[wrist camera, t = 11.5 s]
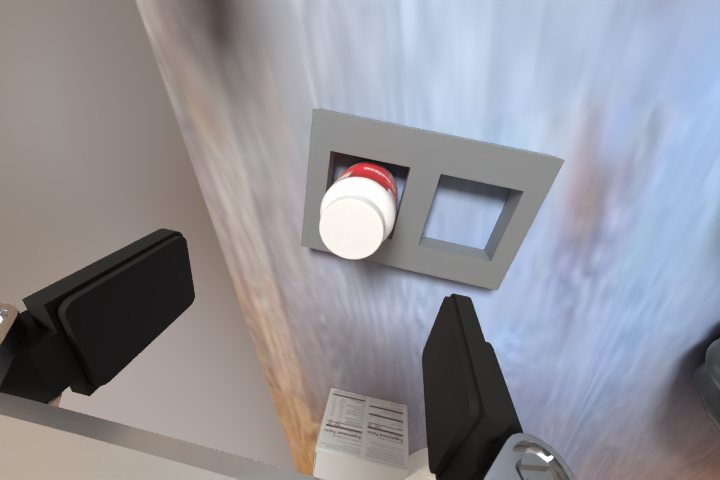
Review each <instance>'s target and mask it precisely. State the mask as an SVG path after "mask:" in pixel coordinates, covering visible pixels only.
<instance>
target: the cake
mask: <svg viewBox="0 0 720 480" xmlns="http://www.w3.org/2000/svg"><path fill="white" fill-rule="evenodd" d="M405 480H436V476H435V474H432V473H430V470H429V462H428V447H427V448H423V449H420V450H418V451H416V452H414V453H413V454H411V455H409V472H408V474H407V476H406V479H405Z"/></svg>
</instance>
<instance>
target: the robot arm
mask: <svg viewBox="0 0 720 480" xmlns="http://www.w3.org/2000/svg"><path fill="white" fill-rule="evenodd" d="M194 298H195V293H194V286H193V280H192V273H191V267H190V261H189V254H188V248H187V241H186V239H185V238H184V237H183V235H182V234H181V233H180V232H177V231H173V230H168V229H159V230H157V231H155V232H153V233H151V234H149V235H147V236H145V237H143V238H141V239H139V240H137V241H135V242H133V243H132V244H130V245H128V246H126V247H124V248H122V249H120V250H118V251H116V252H114V253H112V254H110V255H108V256H106V257H104V258H102V259H100V260H98V261H97V262H94V263H92V264H91V265H89V266H87V267H85V268H83V269H81V270H79V271H77V272H75V273H73V274H71V275H69V276H67V277H65V278H63V279H61V280H59V281H57V282H55V283H53V284H51V285H49V286H48V287H46V288H44V289H42V290H40V291H38V292H36V293H34V294H32V295H30V296H28V297H26V298H24V299H23V302H24V304H25V306H26V307H27V309H28V310H26V311H24V312H22V313H19V311H18V309H17V308H16V307H15V306H13V305H10V304H2V303H0V480H324V479H320V478H317V477H313V476H309V475H306V474H302V473H299V472H295V471H291V470H288V469H284V468H281V467H277V466H273V465H270V464H266V463H263V462H259V461H255V460H252V459H248V458H244V457H241V456H237V455H234V454H230V453H226V452H223V451H219V450H215V449H212V448H208V447H204V446H201V445H197V444H193V443H189V442H186V441H182V440H179V439H175V438H171V437H168V436H164V435H160V434H156V433H153V432H149V431H145V430H142V429H138V428H134V427H130V426H127V425H123V424H120V423H116V422H112V421H108V420H104V419H100V418H97V417H93V416H89V415H86V414H82V413H78V412H74V411H71V410H67V409H63V408H59V407H58V406H59V403H60V399H61V396H62V392H63V391H64V390H65V389H66V388H68V387H69V386H70V388H71V390H72V392H76V393H80V394H83V395H87V396H90V395H91V394H92V393H94V392H95V390H96V389H98V388H99V387H100V386H102V385H105V384H106V383H108V382H110V381H111V380H112V379H113V378H114V377H115V376H116V375H117V374H118V373H119V372H120V371H121V370H122V369H123V368H125V367H126V366H127V365H128V364H129V363H130V362H131V361H132V360H133V359H134V358H135V357H136V356H137V355H138V354H139V353H141V352H142V351H143V350H144V349H145V348H146V347H147V346H148V345H149V344H150V343H151V342H152V341H153V340H154V339H155V338H156V337H158V336H159V335H160V334H161V333H162V332H163V331H164V330H165V329H166V328H167V327H168V326H169V325H170V324H171V323H172V322H174V321H175V320H176V319H177V318H178V317H179V316H180V315H181V314H182V313H183V312H184V311H185V310H186V309H187V308H188V307H189V306H190V305H191V304H192V303H193V301H194ZM422 368H423V384H424V399H425V415H426V431H427V447H428V462H429V470H430V473H432V474H435V476H436V480H576V479H575V477H574V475H573V473H572V471H571V469H570V468H569V467H568V465H567V464H566V463H565V461H564V460H563V459H562V457H561V456H560V455H559V454H558V453H557V452H556V451H555V450H554V449H553V448H552V447H550V446H549V445H548V444H546V443H545V442H543V441H542V440H541V439H539V438H536V437H534V436H532V435H530V434H524V433H523V431H522V428H521V425H520V422H519V419H518V417H517V414H516V411H515V408H514V405H513V403H512V400H511V397H510V394H509V391H508V389H507V386H506V383H505V380H504V377H503V375H502V372H501V369H500V366H499V363H498V361H497V358H496V355H495V352H494V349H493V347H492V345H491V344H490V343H489V342H485V339H484V336H483V333H482V330H481V327H480V324H479V321H478V318H477V315H476V312H475V309H474V306H473V303H472V300H471V298H470V297H467V296H462V295H458V294H452V295H451V296H450V297H447V296H446V297H445V298H444V300H443V302H442V305H441V307H440V310H439V312H438V315H437V317H436V320H435V322H434V325H433V327H432V330H431V332H430V335H429V337H428V340H427V342H426V345H425V347H424V350H423V355H422Z"/></svg>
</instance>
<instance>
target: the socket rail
mask: <svg viewBox="0 0 720 480" xmlns="http://www.w3.org/2000/svg"><path fill="white" fill-rule="evenodd" d="M336 152H339V153H344V154H349V155H353V156H358V157H363V158H368V159H372V160H377V161H382V162H387V163H391V164H396V165H401V166H406V167H409V168H408V172H407V176H406V180H405V184H404V188H403V192H402V196H401V199H400V203H399V207H398V211H397V215H396V219H395V223H394V227H393V230H392V231H391V233H390V234H389V236H388V237H387V238H386V239H385V240H384V241H383V242H382V243H381V244H380V246H379V248H378V249H377V250H376V251H375V252H374V253H373V254H371V255H369V256H367V257H365V258H362V259H361V260H366V261H370V262H375V263H379V264H383V265H388V266H392V267H397V268H401V269H405V270H410V271H414V272H419V273H423V274H427V275H432V276H436V277H441V278H445V279H449V280H454V281H458V282H463V283H467V284H471V285H476V286H480V287H485V288H489V289H493V290H498V289H499V287H500V285H501V283H502V281H503V279H504V277H505V275H506V273H507V271H508V269H509V267H510V265H511V263H512V261H513V260H514V258H515V256H516V254H517V252H518V250H519V248H520V246H521V244H522V242H523V240H524V238H525V236H526V234H527V232H528V230H529V229H530V227H531V225H532V223H533V221H534V219H535V217H536V215H537V213H538V211H539V209H540V207H541V205H542V203H543V201H544V199H545V198H546V196H547V194H548V192H549V190H550V188H551V186H552V184H553V182H554V180H555V178H556V176H557V174H558V172H559V170H560V168H561V167H562V165H563V163H564V161H565V160H563V159H560V158H557V157H554V156H551V155H547V154H542V153H537V152H532V151H527V150H522V149H517V148H512V147H507V146H502V145H497V144H492V143H487V142H482V141H477V140H473V139H468V138H463V137H458V136H453V135H448V134H443V133H438V132H433V131H428V130H423V129H418V128H413V127H408V126H403V125H398V124H393V123H389V122H384V121H379V120H374V119H369V118H364V117H359V116H354V115H349V114H344V113H339V112H334V111H329V110H324V109H313V115H312V126H311V138H310V150H309V161H308V173H307V185H306V196H305V208H304V219H303V231H302V243H301V246H304V247H309V248H313V249H317V250H322V251H326V252H331V253H333V252H332V251H330V250H329V249H328V248H327V247H326V245H325V244H324V242H323V241H322V238H321V235H320V230H319V224H320V219H321V217H320V208H321V203H322V200H323V197H324V195H325V194H326V192H327V191H328V190H329V188H330V187H331V184H332V177H333V169H334V161H335V154H336ZM441 174H444V175H449V176H454V177H458V178H463V179H468V180H473V181H477V182H482V183H487V184H492V185H497V186H501V187H506V188H511V189H512V190H511V192H510V194H509V196H508V199H507V201H506V203H505V205H504V207H503V210H502V212H501V214H500V216H499V219H498V221H497V223H496V225H495V227H494V230H493V232H492V234H491V236H490V239H489V241H488V243H487V245H486V248H485V250H481V249H477V248H472V247H468V246H463V245H459V244H454V243H450V242H445V241H441V240H436V239H432V238H427V237H422V236H421V235H422V232H423V229H424V225H425V222H426V219H427V216H428V213H429V209H430V206H431V203H432V200H433V197H434V194H435V190H436V187H437V184H438V181H439V178H440V175H441Z"/></svg>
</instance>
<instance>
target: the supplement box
mask: <svg viewBox="0 0 720 480" xmlns="http://www.w3.org/2000/svg"><path fill="white" fill-rule="evenodd" d="M408 472H409V448H408V414H407V405H403V404H399V403H394V402H390V401H386V400H381V399H377V398H372V397H368V396H364V395H359V394H355V393H350V392H346V391H342V390H337V389H334V388H331V390H330V393H329V397H328V401H327V404H326V408H325V412H324V416H323V420H322V423H321V427H320V431H319V435H318V439H317V443H316V448H315V458H314V469H313V477H317V478H320V479H324V480H405V479H406V476H407V474H408Z"/></svg>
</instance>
